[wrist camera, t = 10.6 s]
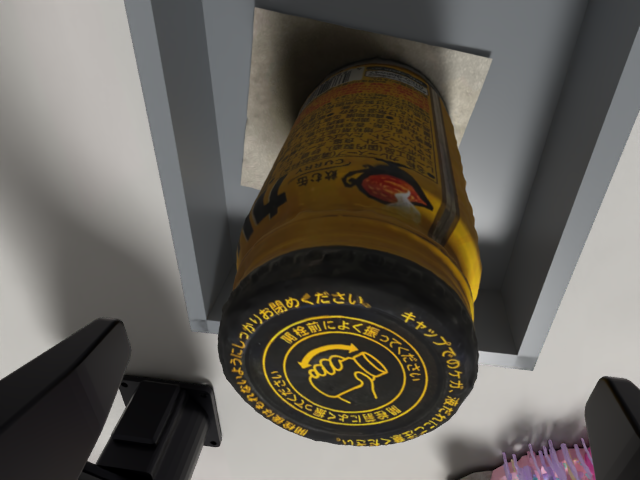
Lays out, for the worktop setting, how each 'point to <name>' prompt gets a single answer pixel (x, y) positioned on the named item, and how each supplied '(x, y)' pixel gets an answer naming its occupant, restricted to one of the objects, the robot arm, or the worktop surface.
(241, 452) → the worktop surface
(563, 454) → the colourful coral reef
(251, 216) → the condiment
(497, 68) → the bin
